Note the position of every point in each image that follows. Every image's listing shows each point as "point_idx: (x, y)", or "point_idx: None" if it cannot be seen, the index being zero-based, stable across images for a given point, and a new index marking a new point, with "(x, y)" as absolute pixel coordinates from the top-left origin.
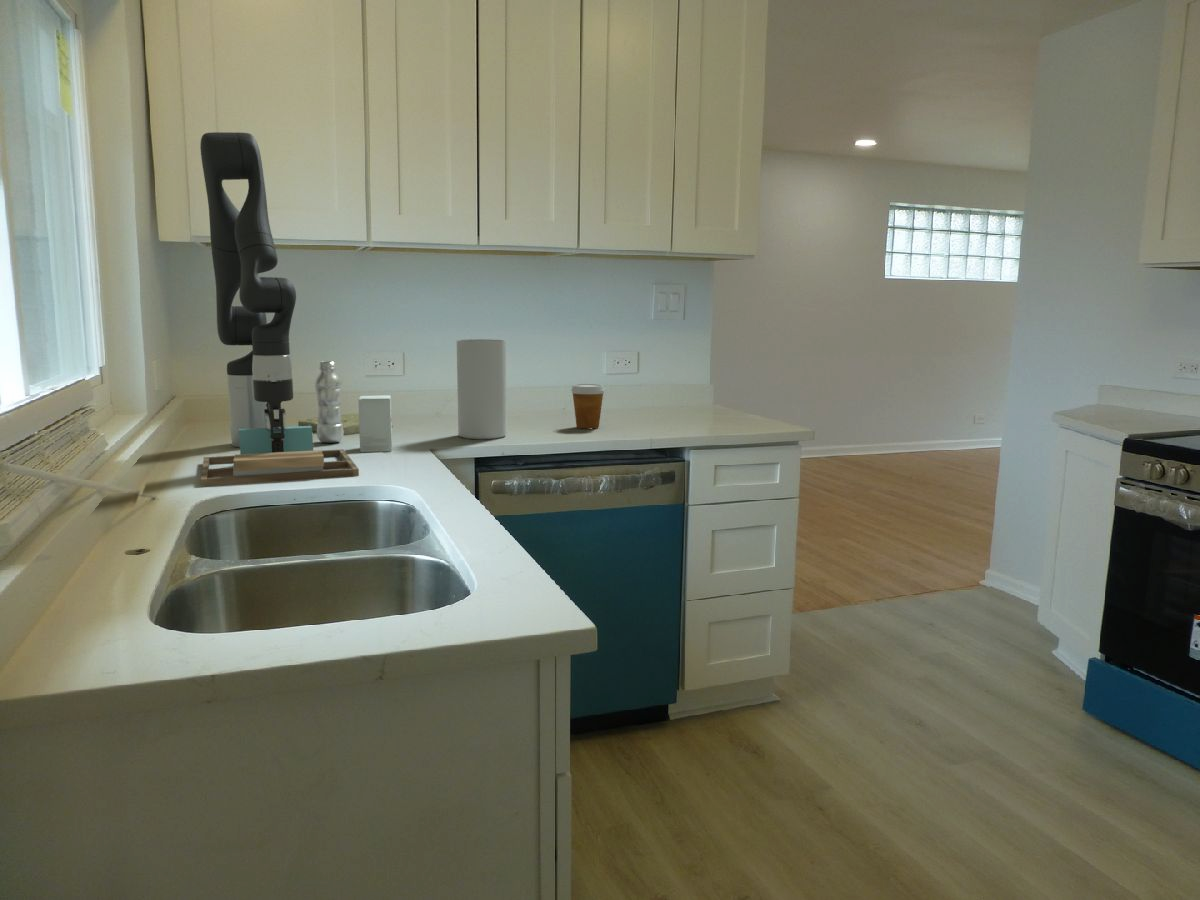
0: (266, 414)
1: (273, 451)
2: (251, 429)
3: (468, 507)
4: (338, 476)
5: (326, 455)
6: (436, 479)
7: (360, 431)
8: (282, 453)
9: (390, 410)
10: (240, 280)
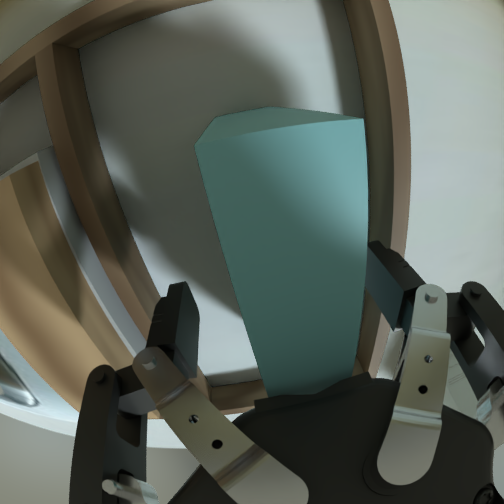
0: (234, 499)
1: (167, 310)
2: (296, 268)
3: (46, 427)
4: None
5: (366, 351)
6: (157, 443)
7: (446, 389)
8: (75, 351)
9: None
10: None
